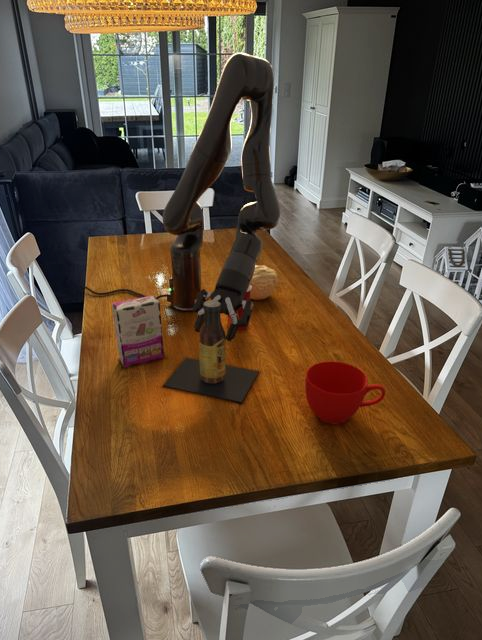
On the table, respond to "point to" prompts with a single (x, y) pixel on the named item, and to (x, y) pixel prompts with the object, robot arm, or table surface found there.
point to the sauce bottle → (212, 344)
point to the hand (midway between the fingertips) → (212, 335)
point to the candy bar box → (138, 330)
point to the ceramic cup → (337, 391)
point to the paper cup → (241, 310)
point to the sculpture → (262, 282)
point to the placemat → (228, 389)
